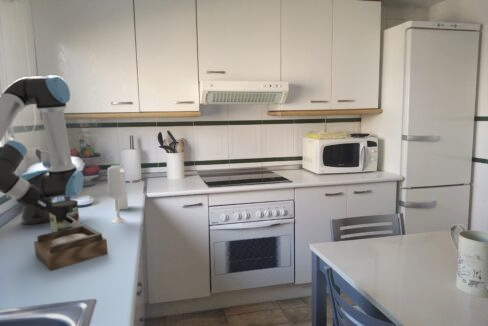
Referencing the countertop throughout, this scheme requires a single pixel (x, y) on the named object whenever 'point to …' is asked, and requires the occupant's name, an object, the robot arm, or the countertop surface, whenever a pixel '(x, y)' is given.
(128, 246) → the countertop surface
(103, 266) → the countertop surface
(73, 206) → the coffee can
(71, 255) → the display stand
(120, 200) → the milk
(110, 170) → the champagne flute
